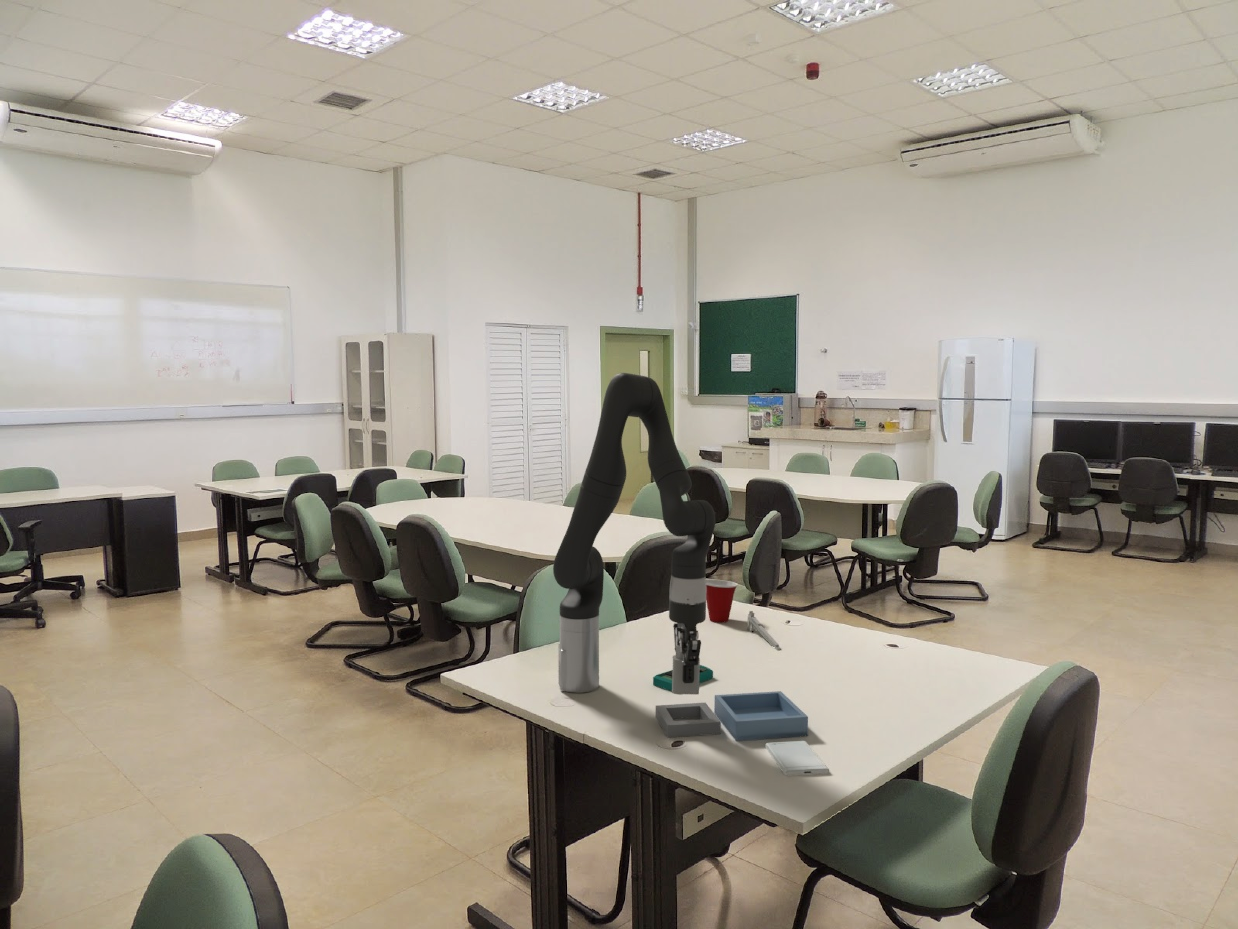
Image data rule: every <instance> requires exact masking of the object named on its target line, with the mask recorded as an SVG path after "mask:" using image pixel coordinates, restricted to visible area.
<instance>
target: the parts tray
mask: <svg viewBox="0 0 1238 929" xmlns="http://www.w3.org/2000/svg"><path fill="white" fill-rule="evenodd" d="M713 713H714V714H715V715H716V717H717V718H718V719H719V720H720V722H721V724H722V725H723V726H724V727H725V729H726V731H727V732H729V734H730V735H731V737H732V738H733V740H735V742H742V741H744V742H745V741H757V740H770V739H771V740H773V739H785V738H799V737H800V736H801V737H808V732H809V731H808V730H809V716H808V715H807V714H806V713H805V712H804V711H803V710H801V708H800V707H798V706H797V704H795V703H794V702H793V701H792V700H791V699H790V698H789V697H787V695H786V694H785V693H783V691H781V690H780V691H779V690H777V691H764V692H762V691H761V692H747V693H746V692H745V693H743V692H742V693H731V694H729V693H728V694H714V711H713Z"/></svg>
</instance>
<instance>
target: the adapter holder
mask: <svg viewBox="0 0 1238 929" xmlns="http://www.w3.org/2000/svg"><path fill="white" fill-rule="evenodd" d="M697 718H699V719H697ZM655 719H656V721H657V722H658V724H659V725H660V727H661V729H662V732H664V735H665V736H666V737H667V738H679V736H680V737H681V736H682V737H693V736H695V737H696V736H708V735H721V729H722V728H721V726H722V725H721V724H722V722H721V721H720V720H719V719H718V717H717V716H716V715H715V713H714V711H713V710H712V709H711V708H710V706H709V705H708V704H707V702H696V703H695V702H692V703H677V704H676V703H675V704H661V705H655ZM680 719H681V720H680ZM683 719H690V720H683ZM675 720H677V721H675ZM682 737H681V738H682Z"/></svg>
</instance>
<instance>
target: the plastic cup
mask: <svg viewBox="0 0 1238 929" xmlns="http://www.w3.org/2000/svg"><path fill="white" fill-rule="evenodd" d="M738 586H739V584H738V583H736V582H734V581H730V580H725V579H706V609H707V613H708V619H709V621H710V622H712V623H727V622H729V619H730V616H731V615H730V614H731V611H732V605H733V600H734V596H735V593H736V592H735V591H736V589H737V587H738Z"/></svg>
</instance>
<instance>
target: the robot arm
mask: <svg viewBox="0 0 1238 929" xmlns="http://www.w3.org/2000/svg"><path fill="white" fill-rule="evenodd" d="M600 412H601V413H600V416H599V417H600V418H599V422H598V427H597V432H596V436H595V439H594V443H593V446H592V450H591V453H590V457H589V460H588V464H587V466H586V468H585V471H584V475H583V477H582V481H581V484H580V488H579V491H578V492H579V493H578V495H577V499H576V502H575V503H574V504H575V505H574V508H573V511H572V514H571V517H570V521H569V524H568V526H567V529H566V531H565V535H564V536H563V538H562V540H561V543H560V545H559V547H558V550H557V552H556V555H555V557H554V560H553V565H552V566H553V567H552V569H553V571H552V572H553V577H554V580H555V582H556V583H557V584H558V586H560V587H561V588H563V589H567V590H568V591H567V592H566V595H565V596H564V598H563V599H562V600H561V601H560V603H559V643H558V645H557V646H558V686H559V689H560V691H561V692H568V693H576V694H577V693H579V694H580V693H581V694H582V693H589V692H592V691H595V690H598V688H599V687H600V607H601V604H602V602H603V598H604V597H603V596H604V579H605V578H604V574H605V573H604V572H605V570H604V569H605V566H604V560H603V556H602V555H601V552H600V551H599V550H598V549H597V548H596V547H595V546H594V542H595V541H596V538H597V536H598V534H599V532H600V531H601V529H602V528H603V526H604V525H605V524H606V522H607V521H608V519H609V518H610V517H611V515H612V513H613V512H614V510H615V509H616V508H617V506H618V503H619V500H620V498H621V496H622V492H623V489H624V486H625V483H626V479H627V466H626V459H625V455H624V450H623V434H624V430H625V427H626V423H627V421H628V417H633V418H639V419H640V421H641V423H642V424H643V426H644V427H645V429H646V432H647V436H648V450H647V464H648V468H649V471H650V473H651V475H652V478H653V481H654V483H655V485H656V487H657V489H658V491H659V498H660V505H661V514H662V520H663V524H664V527H665V528H666V529H667V531H668V532H669V533H670V534H672V535H673V536H675V537H686V540H685V542H684V543H683V544H680V545H679V546H676V547H675V548H674V549H673V550H672V553H671V567H670V568H671V570H670V574H671V575H670V582H669V583H670V584H669V601H668V603H669V604H668V605H669V606H668V618H669V620H670V621H671V622H673V626H672V627H673V636H674V637H673V638H674V651H675V653H676V646H677V645H680V652H681V653H682V654H683V682H684V683H693V682H694V665H698V661H699V658H700V654H701V646H702V641H701V639H699V630H697V625H698V624H702V623H704V622H705V621H706V618H707V617H706V616H707V614H706V613H707V601H706V580H707V579H706V575H707V574H706V571H707V567H706V566H707V555H708V552H709V549H710V545H711V542H712V538H713V534H714V532H715V527H716V513H715V511H714V508H713V505H711V504H710V503H709V501H707V500H703V499H695V500H683V498H682V497H683V496H685V495H686V494H688V493H689V491H690V490H691V489H692V484H693V483H692V479H691V477H690V475H689V472H688V470H687V467H686V466H685V464H684V462H683V459H682V456H681V455H680V452H679V450H678V447H677V445H676V442H675V439H674V435H673V432H672V428H671V425H670V420H669V416H668V414H667V410H666V406H665V402H664V399H663V394H662V392H661V389H660V387H659V385H658V383H657V382H656V380H655V379H653V378H651V377H649V376H645V375H639V374H635V373H634V374H633V373H628V372H619V373H617V374H615V375H614V376H613V377H612V378H611V379H610V381H609V383H608V385H607V388H606V390H605V394H604V398H603V402H602V408H601V411H600ZM684 648H687V650H685V649H684ZM690 657H692V659H689V658H690Z"/></svg>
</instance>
